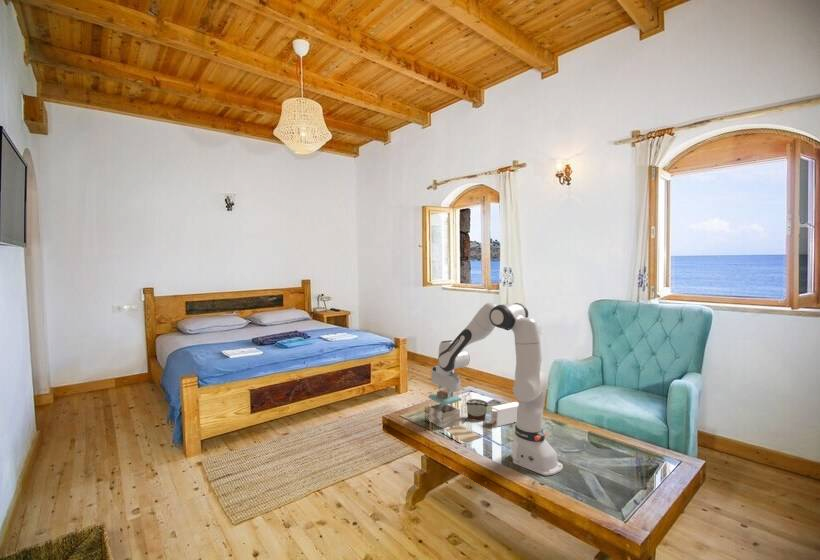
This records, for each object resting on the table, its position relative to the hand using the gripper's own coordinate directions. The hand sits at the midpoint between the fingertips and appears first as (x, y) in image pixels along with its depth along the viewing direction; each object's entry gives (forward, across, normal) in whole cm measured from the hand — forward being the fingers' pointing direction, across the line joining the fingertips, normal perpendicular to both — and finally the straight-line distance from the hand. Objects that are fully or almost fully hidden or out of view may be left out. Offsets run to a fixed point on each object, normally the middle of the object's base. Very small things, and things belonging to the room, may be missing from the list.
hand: (445, 395), depth 216 cm
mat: (+15, -16, +3) cm, 22 cm away
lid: (+3, 0, 0) cm, 3 cm away
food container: (+15, -5, -20) cm, 26 cm away
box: (+15, 0, 0) cm, 15 cm away
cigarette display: (+16, -18, -30) cm, 38 cm away
